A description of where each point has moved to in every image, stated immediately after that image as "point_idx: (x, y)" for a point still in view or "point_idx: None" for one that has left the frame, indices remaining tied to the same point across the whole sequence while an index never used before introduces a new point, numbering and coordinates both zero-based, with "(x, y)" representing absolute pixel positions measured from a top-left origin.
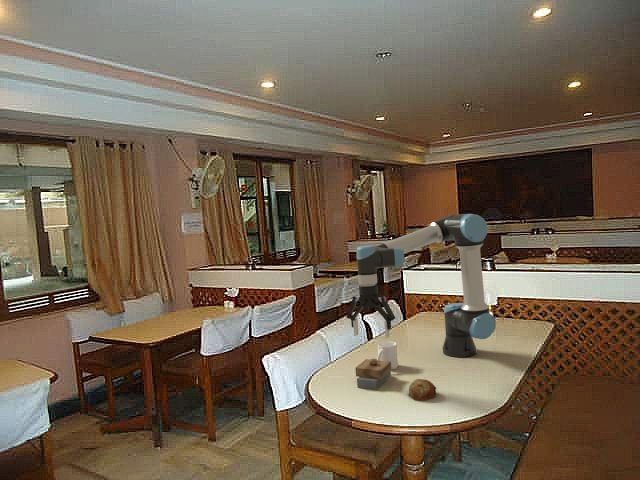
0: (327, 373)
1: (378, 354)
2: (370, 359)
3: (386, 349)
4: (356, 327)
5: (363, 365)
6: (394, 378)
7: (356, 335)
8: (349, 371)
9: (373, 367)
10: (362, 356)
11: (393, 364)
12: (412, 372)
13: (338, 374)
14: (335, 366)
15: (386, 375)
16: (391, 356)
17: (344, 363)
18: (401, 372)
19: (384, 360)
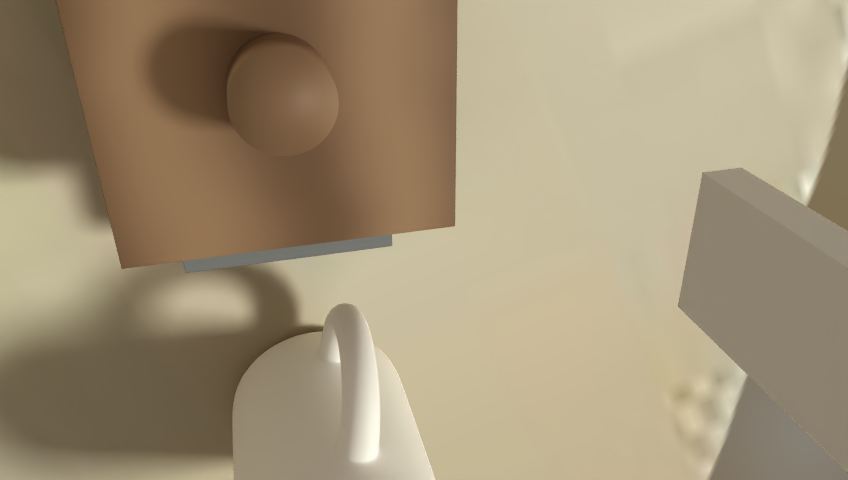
0: (774, 56)
1: (367, 375)
2: (326, 104)
3: (306, 477)
4: (826, 344)
5: (389, 4)
6: None
7: (699, 208)
8: (600, 176)
9: None
10: (605, 475)
11: (243, 396)
12: (40, 381)
13: (673, 71)
14: None
15: None
16: (257, 443)
17: None
18: (139, 341)
19: (321, 382)
